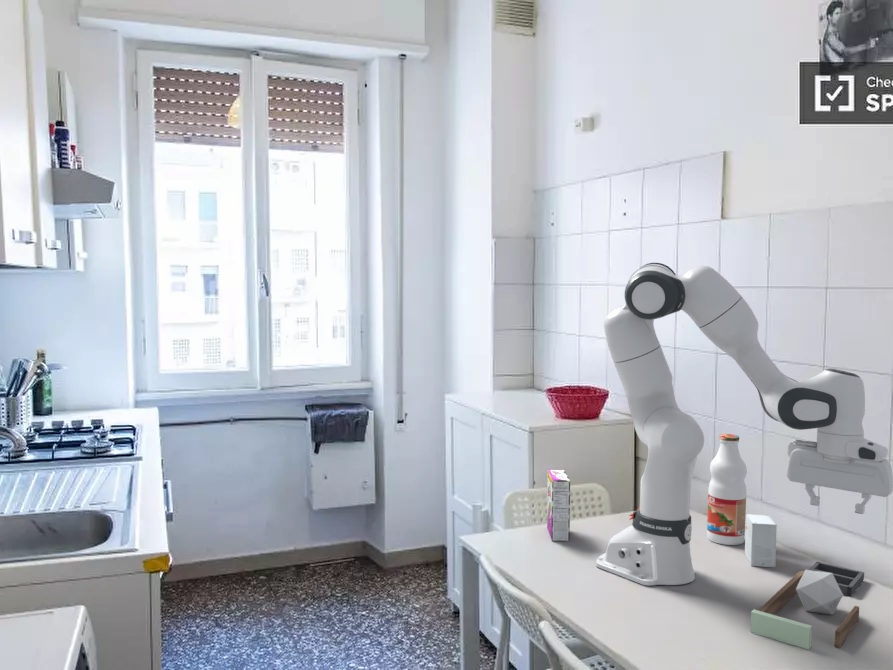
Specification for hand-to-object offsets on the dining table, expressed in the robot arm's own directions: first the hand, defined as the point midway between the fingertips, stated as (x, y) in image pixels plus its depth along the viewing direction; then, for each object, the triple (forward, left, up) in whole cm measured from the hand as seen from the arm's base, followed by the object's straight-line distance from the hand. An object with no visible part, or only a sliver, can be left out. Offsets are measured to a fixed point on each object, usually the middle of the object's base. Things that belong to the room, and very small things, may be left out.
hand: (836, 508), depth 160 cm
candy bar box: (-66, -6, -20) cm, 69 cm away
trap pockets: (-2, +8, -19) cm, 21 cm away
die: (-1, -10, -20) cm, 22 cm away
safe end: (-2, -29, -19) cm, 35 cm away
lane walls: (0, -13, -19) cm, 23 cm away
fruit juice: (-31, +21, -20) cm, 42 cm away
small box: (-19, +11, -20) cm, 29 cm away
